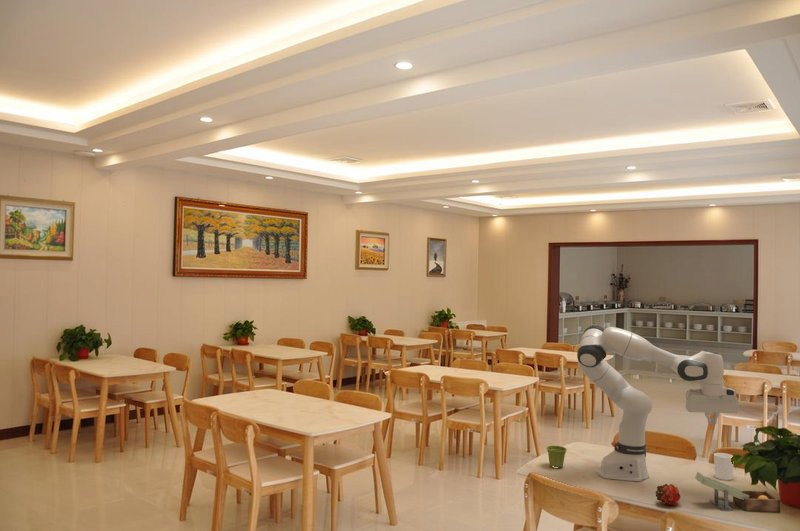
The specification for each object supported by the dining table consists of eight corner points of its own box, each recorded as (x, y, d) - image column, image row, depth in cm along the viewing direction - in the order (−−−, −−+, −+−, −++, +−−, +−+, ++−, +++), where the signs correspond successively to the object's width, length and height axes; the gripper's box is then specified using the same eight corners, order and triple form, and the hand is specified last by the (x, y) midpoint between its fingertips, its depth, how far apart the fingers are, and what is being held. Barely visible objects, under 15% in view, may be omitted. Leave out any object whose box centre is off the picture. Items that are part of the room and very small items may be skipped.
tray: (745, 511, 234) (745, 499, 234) (733, 501, 244) (733, 490, 244) (780, 512, 233) (780, 500, 233) (766, 502, 243) (766, 491, 243)
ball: (760, 507, 236) (760, 497, 236) (755, 503, 240) (755, 493, 240) (771, 508, 236) (771, 497, 236) (766, 504, 240) (766, 494, 240)
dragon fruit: (657, 511, 237) (673, 509, 245) (675, 503, 233) (691, 501, 240) (647, 489, 242) (663, 487, 249) (664, 481, 237) (680, 479, 244)
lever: (701, 483, 237) (704, 477, 237) (688, 472, 250) (690, 466, 250) (747, 501, 236) (749, 494, 236) (731, 489, 249) (733, 483, 249)
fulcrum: (721, 510, 234) (721, 491, 235) (709, 500, 245) (709, 482, 245) (733, 510, 234) (733, 491, 234) (721, 500, 244) (721, 482, 245)
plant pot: (569, 465, 289) (569, 447, 290) (563, 471, 281) (563, 452, 282) (550, 462, 294) (550, 444, 295) (543, 467, 286) (543, 449, 287)
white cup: (736, 481, 268) (736, 458, 269) (716, 480, 270) (716, 457, 270) (730, 475, 276) (730, 453, 276) (711, 474, 278) (711, 452, 278)
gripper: (688, 390, 251) (689, 424, 251) (740, 391, 249) (740, 425, 249) (683, 387, 257) (683, 420, 257) (733, 388, 255) (733, 422, 255)
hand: (712, 423), depth 253 cm, fingers closed
